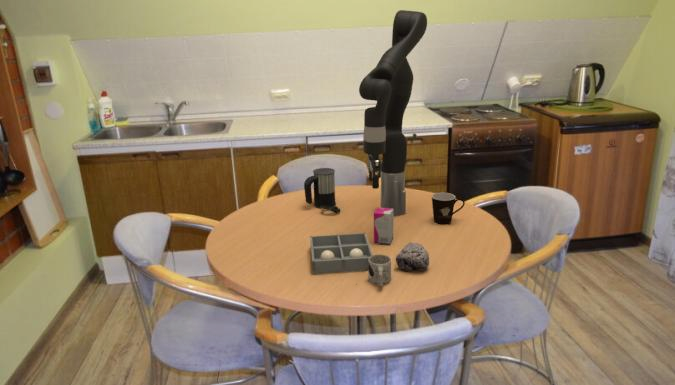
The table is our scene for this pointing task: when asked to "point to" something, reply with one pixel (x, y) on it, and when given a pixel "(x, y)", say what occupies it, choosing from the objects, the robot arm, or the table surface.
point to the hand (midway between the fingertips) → (373, 184)
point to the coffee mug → (444, 207)
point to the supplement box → (383, 226)
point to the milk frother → (322, 189)
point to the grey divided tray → (340, 253)
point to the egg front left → (356, 253)
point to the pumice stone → (413, 257)
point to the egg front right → (327, 255)
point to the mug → (379, 269)
